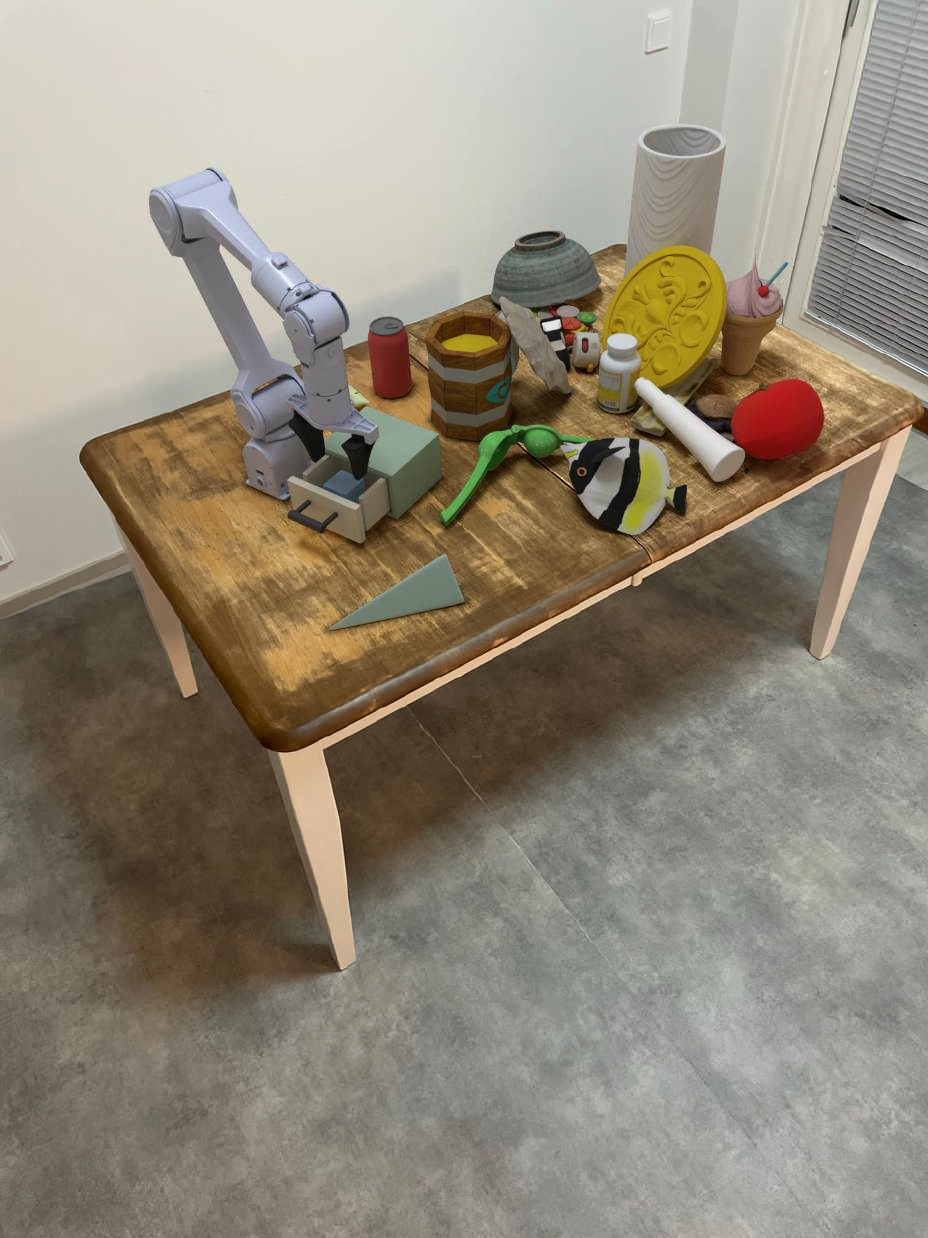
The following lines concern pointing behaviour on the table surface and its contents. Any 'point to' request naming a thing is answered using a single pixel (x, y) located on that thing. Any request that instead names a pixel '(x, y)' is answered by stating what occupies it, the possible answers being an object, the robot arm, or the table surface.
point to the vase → (674, 190)
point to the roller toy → (586, 350)
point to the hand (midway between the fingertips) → (339, 467)
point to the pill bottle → (619, 374)
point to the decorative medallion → (669, 312)
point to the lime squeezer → (494, 449)
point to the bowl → (544, 271)
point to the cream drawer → (337, 501)
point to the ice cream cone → (748, 319)
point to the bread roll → (715, 413)
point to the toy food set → (568, 320)
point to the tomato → (778, 419)
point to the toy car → (556, 338)
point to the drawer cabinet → (398, 458)
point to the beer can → (389, 357)
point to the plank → (679, 391)
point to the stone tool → (535, 345)
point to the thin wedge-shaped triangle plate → (411, 595)
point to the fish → (622, 481)
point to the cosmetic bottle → (693, 432)
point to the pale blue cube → (345, 486)
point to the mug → (471, 374)
